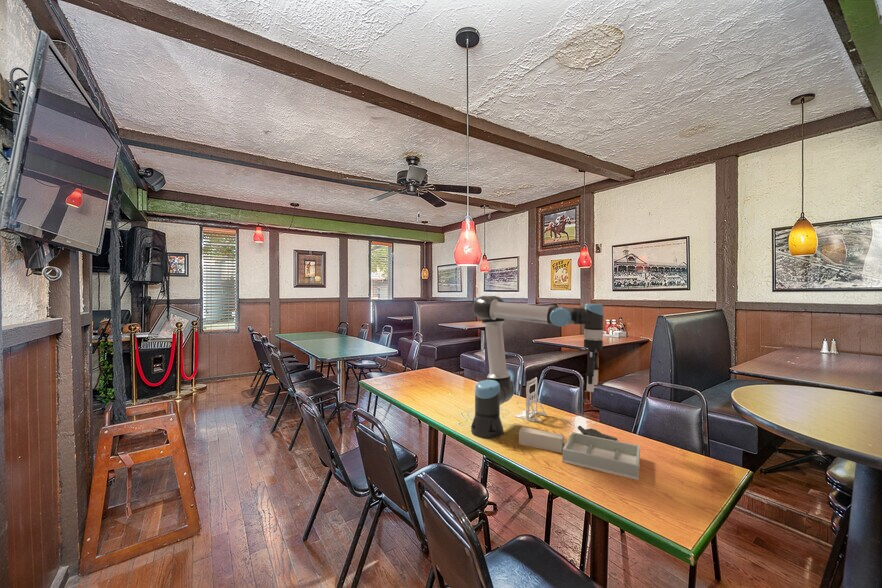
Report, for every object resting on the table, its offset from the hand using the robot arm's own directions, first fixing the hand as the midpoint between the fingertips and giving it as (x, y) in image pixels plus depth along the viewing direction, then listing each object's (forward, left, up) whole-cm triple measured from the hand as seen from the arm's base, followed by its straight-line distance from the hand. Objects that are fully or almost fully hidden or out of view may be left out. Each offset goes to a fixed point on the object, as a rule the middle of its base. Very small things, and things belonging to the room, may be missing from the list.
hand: (592, 387), depth 153 cm
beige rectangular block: (-19, -13, -25) cm, 34 cm away
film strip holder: (-34, +22, -25) cm, 48 cm away
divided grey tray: (+5, -13, -25) cm, 28 cm away
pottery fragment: (+1, +9, -26) cm, 27 cm away
